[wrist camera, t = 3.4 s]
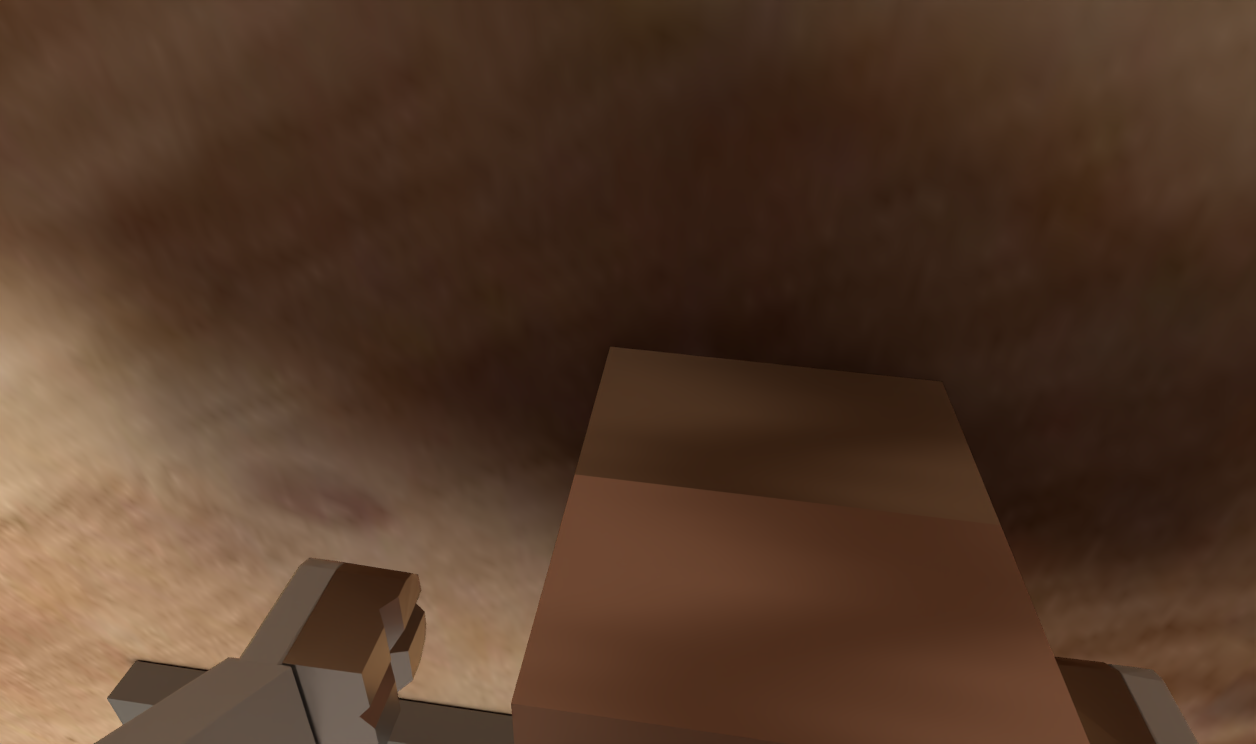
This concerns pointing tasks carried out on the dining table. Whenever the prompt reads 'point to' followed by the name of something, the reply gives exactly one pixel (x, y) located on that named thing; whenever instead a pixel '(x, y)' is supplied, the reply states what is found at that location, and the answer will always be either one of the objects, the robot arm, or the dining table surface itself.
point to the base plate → (420, 739)
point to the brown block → (782, 571)
